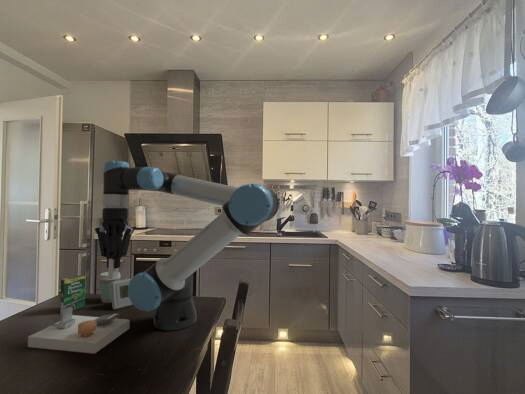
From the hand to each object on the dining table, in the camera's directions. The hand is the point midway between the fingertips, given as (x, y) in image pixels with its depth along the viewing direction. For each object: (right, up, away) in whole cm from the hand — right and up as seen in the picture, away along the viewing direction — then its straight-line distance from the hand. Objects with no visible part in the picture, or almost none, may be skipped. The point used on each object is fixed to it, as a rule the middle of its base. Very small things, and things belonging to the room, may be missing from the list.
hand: (113, 277), depth 91 cm
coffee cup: (-18, -19, +29) cm, 39 cm away
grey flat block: (-2, -14, 0) cm, 14 cm away
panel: (-8, -18, -4) cm, 20 cm away
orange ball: (-3, -17, -8) cm, 19 cm away
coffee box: (-26, -19, +18) cm, 37 cm away
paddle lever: (-14, -15, -3) cm, 20 cm away
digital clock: (-6, -19, +25) cm, 32 cm away
